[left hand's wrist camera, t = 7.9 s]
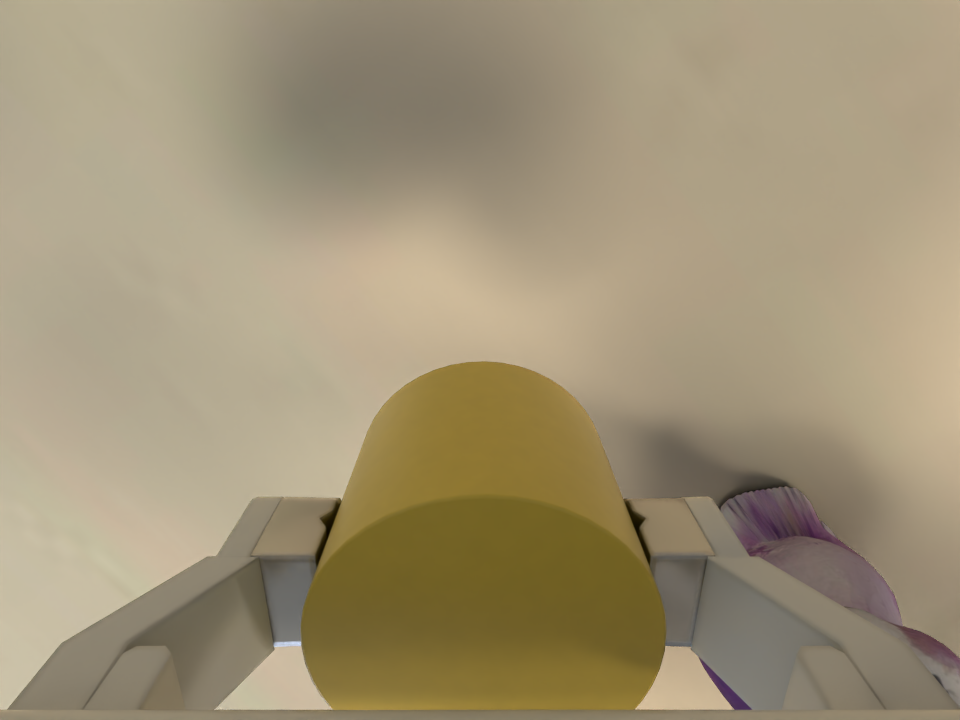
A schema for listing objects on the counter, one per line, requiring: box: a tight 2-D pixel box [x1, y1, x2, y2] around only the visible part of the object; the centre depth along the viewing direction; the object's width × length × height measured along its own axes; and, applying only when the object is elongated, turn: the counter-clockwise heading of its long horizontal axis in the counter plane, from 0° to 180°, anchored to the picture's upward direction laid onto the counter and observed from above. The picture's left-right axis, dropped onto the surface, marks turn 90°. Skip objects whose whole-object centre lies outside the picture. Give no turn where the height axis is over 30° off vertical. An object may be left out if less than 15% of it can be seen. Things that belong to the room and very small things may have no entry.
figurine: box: [699, 486, 960, 710], centre depth 21 cm, size 9×10×15 cm
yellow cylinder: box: [301, 362, 667, 710], centre depth 10 cm, size 5×5×4 cm
